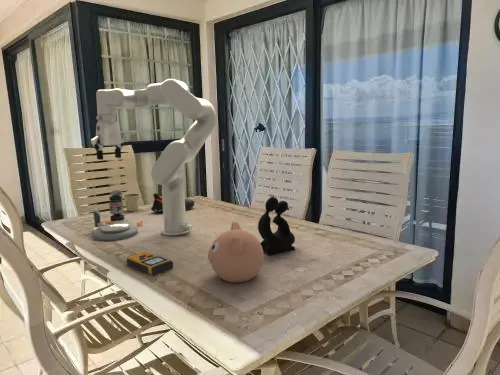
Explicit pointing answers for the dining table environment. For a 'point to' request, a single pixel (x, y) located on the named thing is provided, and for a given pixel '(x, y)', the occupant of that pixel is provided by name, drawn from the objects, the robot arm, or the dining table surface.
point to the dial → (110, 224)
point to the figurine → (282, 236)
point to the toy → (236, 255)
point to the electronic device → (149, 263)
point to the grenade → (116, 206)
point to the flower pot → (131, 201)
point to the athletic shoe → (159, 205)
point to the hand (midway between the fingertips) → (109, 158)
